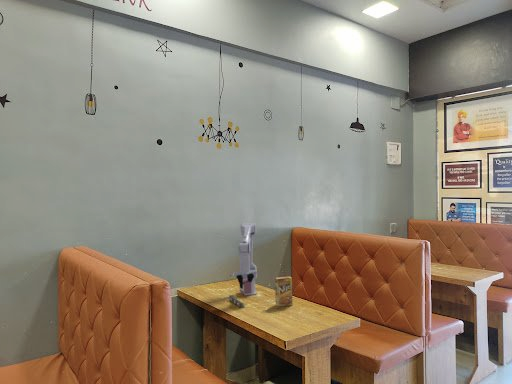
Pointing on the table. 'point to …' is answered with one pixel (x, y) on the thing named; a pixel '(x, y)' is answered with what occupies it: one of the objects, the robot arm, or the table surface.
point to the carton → (246, 287)
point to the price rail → (236, 301)
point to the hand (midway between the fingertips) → (245, 287)
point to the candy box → (283, 291)
